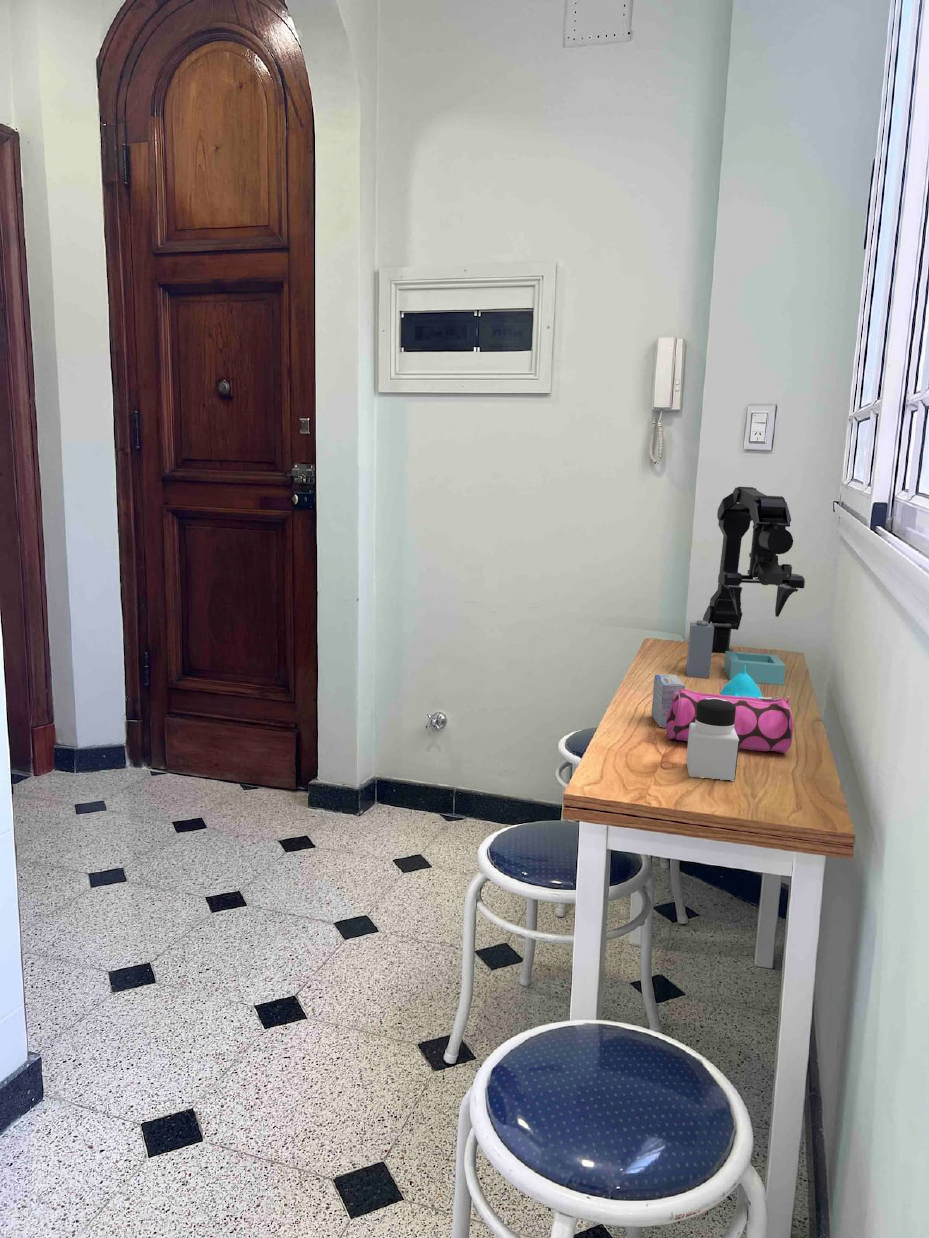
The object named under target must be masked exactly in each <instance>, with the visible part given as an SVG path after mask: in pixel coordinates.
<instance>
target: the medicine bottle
mask: <svg viewBox="0 0 929 1238" xmlns="http://www.w3.org/2000/svg"><path fill="white" fill-rule="evenodd" d="M735 714H736V707H735V705H734V704H733V703H731V702H729V701H727V700H723V699H718V698H706V699H703V700H700V701H699V702H698V703H697V710H696V720H695V723H690V726H689V736H688V742H687V748H686V749H687V750H686V757H685V758H686V759H685V760H686V761H685V763H686V766H687V772H688V776H689V777H690V778H693V777H704V778H714V779H720V780H719V781H723V780H731V781H730V782H735V780H736V776H737V765H738V756H739V749H740V748H739V738H738V736H737V733H736V731H735V729H734V723H735Z"/></svg>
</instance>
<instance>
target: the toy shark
mask: <svg viewBox="0 0 929 1238" xmlns="http://www.w3.org/2000/svg"><path fill="white" fill-rule="evenodd" d="M719 695H728V696H738V697H754V698H759V697H764V696H763V694H762V691H761V688H760V687H759V685H757V683H755V682H754V681H753V679H752V678H751V677H750V676H749V675H748V674H746V666H745V665H744V669H743V672H742V673H739V674H737V675H736V676H735V677H734V678H733V679H732V680H731V681H730V680H729V682H727V683H726V684H725V685H724V686H723V687H722V689H721V690H720V693H719Z"/></svg>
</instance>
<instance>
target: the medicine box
mask: <svg viewBox="0 0 929 1238" xmlns="http://www.w3.org/2000/svg"><path fill="white" fill-rule="evenodd" d="M681 689H686V684H685V683H684V682H683V681H682V680H681V679H680V677H678V675H676V674H668V673H666V674H665V673H662V674H654V679H653V690H652V691H653V692H652V701H651V702H652V704H651V717H652V719H653V720H654V721H655V723H656V722H657V723H656V724H657V725H658V727H659V728H660V727H662V728H663V729H667V724H666V720H667V715H668V712H669V710H670V708H671V705H672V698H671V697H672V695H673V693H674V692H677V691H679V690H681ZM662 728H661V729H662Z"/></svg>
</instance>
